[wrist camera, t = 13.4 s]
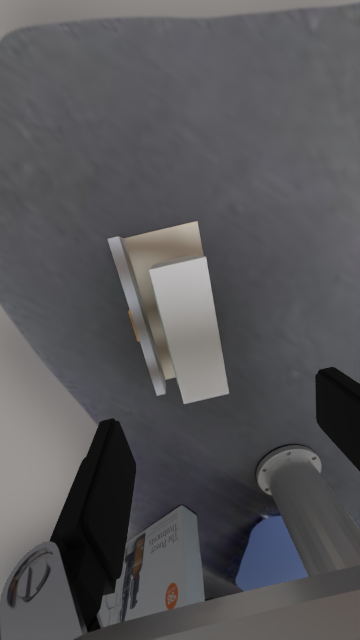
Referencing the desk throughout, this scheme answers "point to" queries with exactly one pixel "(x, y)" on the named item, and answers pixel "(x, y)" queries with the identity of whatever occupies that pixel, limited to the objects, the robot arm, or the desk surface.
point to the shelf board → (136, 281)
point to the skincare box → (158, 570)
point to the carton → (190, 326)
